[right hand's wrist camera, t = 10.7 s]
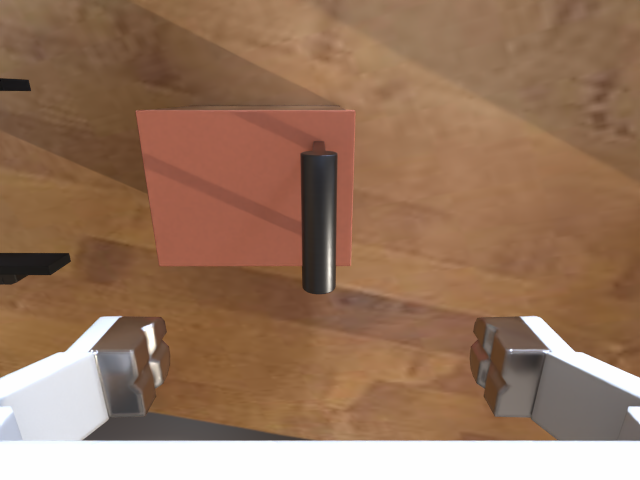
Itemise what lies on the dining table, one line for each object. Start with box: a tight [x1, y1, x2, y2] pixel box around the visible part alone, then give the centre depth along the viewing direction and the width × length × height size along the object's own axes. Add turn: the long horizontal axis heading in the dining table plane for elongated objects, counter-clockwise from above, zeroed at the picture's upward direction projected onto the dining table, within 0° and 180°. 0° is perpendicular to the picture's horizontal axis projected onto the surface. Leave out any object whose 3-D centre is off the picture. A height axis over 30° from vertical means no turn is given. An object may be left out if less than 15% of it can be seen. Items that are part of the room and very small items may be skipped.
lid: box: [136, 110, 355, 294], centre depth 22 cm, size 13×10×8 cm
